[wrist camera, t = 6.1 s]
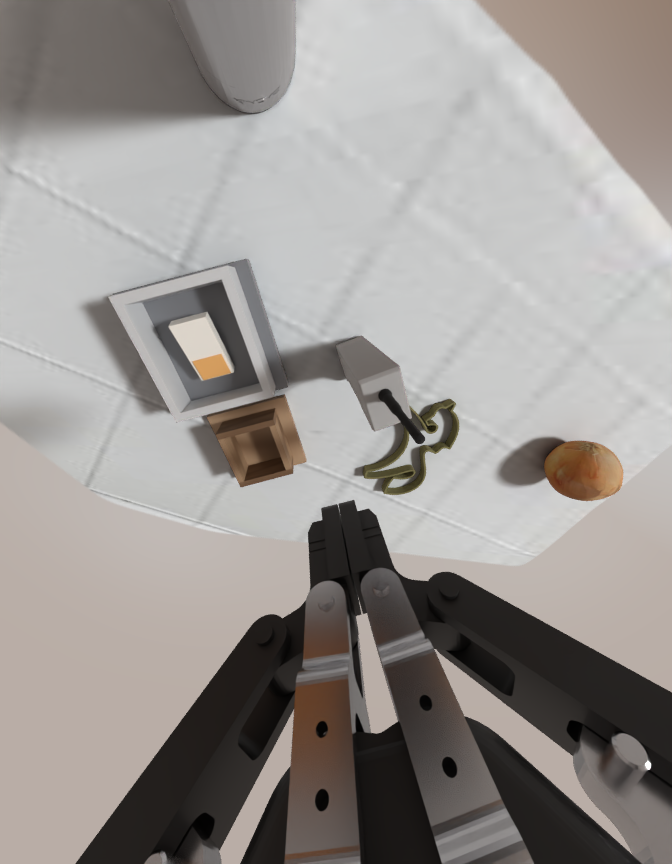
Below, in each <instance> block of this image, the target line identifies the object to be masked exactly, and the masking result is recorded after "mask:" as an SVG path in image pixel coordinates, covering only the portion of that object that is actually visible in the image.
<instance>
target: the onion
mask: <svg viewBox="0 0 672 864" xmlns="http://www.w3.org/2000/svg"><path fill="white" fill-rule="evenodd" d="M544 469H545V474H546V477H547V479H548V481H549V483H550V484H551V485H552V487H553V488H554V489H555V490H556V491H557V492H559V493H560V494H562V495H564V496H567V497H569V498H572V499H576V500H581V501H593V500H599V499H603V498H606V497H609V496H611V495H613V494H615V493H616V492H617V491H619V490H620V488H621V486H622V481H623V468H622V466H621V463H620V461H619V459H618V458H617V456H616V455H615V454H614V453H613V452H612V451H611V450H609V449H608V448H606V447H605V446H603V445H601V444H598V443H594V442H588V441H570V442H566V443H563V444H561V445H559V446H558V447H556V448H555V449H553V450H552V452H551V453H550V454H549V455H548V456H547V457H546V460H545V463H544Z"/></svg>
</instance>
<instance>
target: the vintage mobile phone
mask: <svg viewBox="0 0 672 864" xmlns="http://www.w3.org/2000/svg"><path fill="white" fill-rule="evenodd" d="M336 349H337V352H338V355H339V358H340V361H341V364H342V367H343V370H344V373H345V376H346V379H347V381H349V383H350V385H351V386H352V388H353V390H354V392H355V394H356V396H357V398H358V400H359V402H360V405H361V407H362V409H363V411H364V413H365V415H366V417H367V419H368V421H369V423H370V425H371V428H372V429H373V430H374V431H378V430H381V429H384V428H386V427H389V426H392V425H395V424H398V423H400V422H401V423H402V424H403V426H404V427H405V428H406V430H407V431H408V432H409V434H410V435H411V436H412V438H413V439H414V440H415V442H416V443H417V444H422V443H423V442H424V441H425V437H424V436H423V435H422V433H421V432H420V431H419V430H418V429H417V427H416V426H415V425H414V424H413V423H412V421H411V420H410V419H411V418H412V416H411V412H410V407H409V403H408V399H407V395H406V391H405V386H404V382H403V378H402V374H401V370H400V366H399V365H398V364H396V363H395V362H394V361H393V360H391V359H390V358H389V357H388V356H386V355H385V354H384V353H383V352H381V351H380V350H379V349H378V348H377V347H375V346H374V345H373V344H372V343H370V342H369V341H368V340H367V339H365V338H364V337H363V336H359V337H357V338H354V339H351V340H349V341H346V342H343V343H341V344H338V345H336Z"/></svg>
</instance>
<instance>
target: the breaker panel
mask: <svg viewBox="0 0 672 864" xmlns="http://www.w3.org/2000/svg"><path fill="white" fill-rule="evenodd" d="M108 298H109V300H110V302H111V303H112V305H113V307H114V309H115V311H116V313H117V314H118V316H119V318H120V320H121V322H122V324H123V326H124V327H125V329H126V331H127V333H128V335H129V337H130V338H131V340H132V342H133V344H134V346H135V348H136V349H137V351H138V353H139V355H140V357H141V359H142V360H143V362H144V364H145V366H146V368H147V370H148V372H149V373H150V375H151V377H152V379H153V381H154V383H155V384H156V386H157V388H158V390H159V392H160V394H161V395H162V397H163V399H164V401H165V403H166V405H167V407H168V408H169V410H170V412H171V414H172V416H173V418H174V419H175V421H176V423H177V422H180V421H184V420H188V419H192V418H196V417H199V416H203V415H207V414H211V413H214V412H218V411H222V410H226V409H230V408H233V407H237V406H241V405H245V404H249V403H252V402H256V401H260V400H264V399H267V398H271V397H274V393H275V390H279V389H283V388H287V387H288V380H287V377H286V373H285V370H284V367H283V364H282V361H281V358H280V355H279V352H278V348H277V345H276V342H275V339H274V336H273V333H272V330H271V327H270V324H269V320H268V317H267V314H266V311H265V308H264V305H263V302H262V299H261V296H260V292H259V289H258V286H257V283H256V280H255V277H254V274H253V271H252V267H251V264H250V261H249V260H248V259H244V260H240V261H236V262H232V263H228V264H225V265H221V266H217V267H213V268H209V269H206V270H202V271H198V272H194V273H191V274H187V275H183V276H179V277H175V278H172V279H168V280H164V281H160V282H156V283H153V284H149V285H145V286H141V287H137V288H134V289H130V290H126V291H122V292H119V293H115V294H113V296H110V297H108ZM204 312H208V314H209V316H210V318H211V320H212V322H213V324H214V326H215V328H216V330H217V332H218V334H219V336H220V338H221V340H222V342H223V344H224V346H225V348H226V350H227V352H228V354H229V356H230V358H231V360H232V362H233V364H234V366H235V367H234V373H230V374H226V375H223V376H219V377H215V378H211V379H207V380H204V381H202V380H201V379H200V377H199V376H198V374H197V372H196V371H195V369H194V368H193V366H192V364H191V363H190V361H189V359H188V358H187V356H186V355H185V353H184V351H183V350H182V348H181V346H180V345H179V343H178V342H177V340H176V338H175V337H174V335H173V334H172V332H171V330H170V329H169V327H168V326H169V324H170V322H171V321H173V320H177V319H181V318H185V317H189V316H192V315H196V314H200V313H204Z"/></svg>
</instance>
